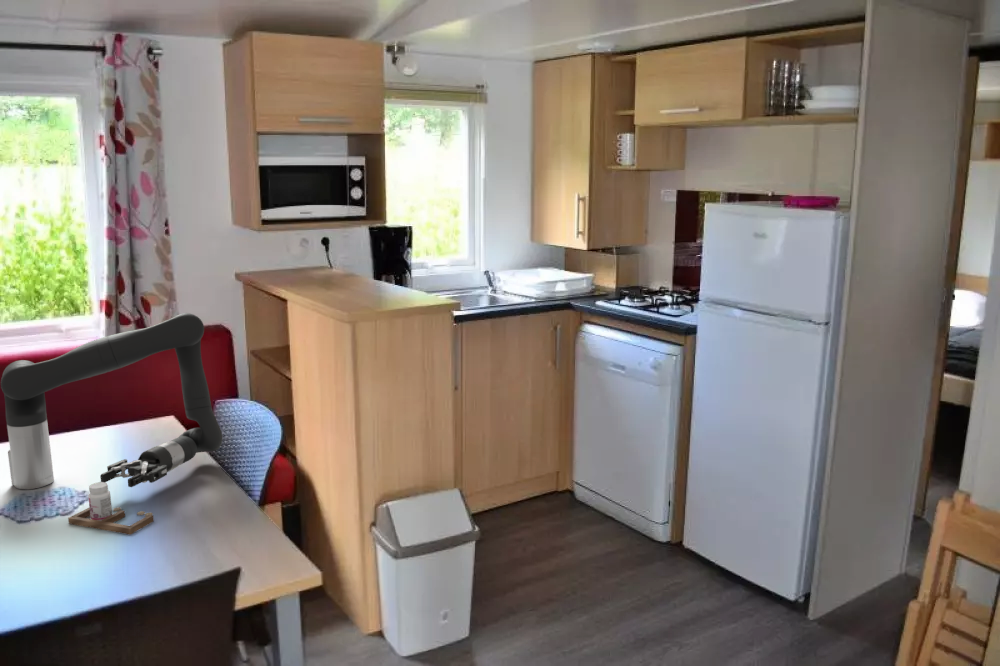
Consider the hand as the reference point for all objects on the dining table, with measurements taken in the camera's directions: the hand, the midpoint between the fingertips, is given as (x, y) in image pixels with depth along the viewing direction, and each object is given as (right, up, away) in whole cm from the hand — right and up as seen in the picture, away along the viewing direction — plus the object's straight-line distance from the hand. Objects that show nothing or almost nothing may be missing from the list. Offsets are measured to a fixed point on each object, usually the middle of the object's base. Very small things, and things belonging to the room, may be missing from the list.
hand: (115, 481), depth 202 cm
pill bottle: (-2, -8, -3) cm, 9 cm away
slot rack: (+2, -9, -5) cm, 10 cm away
